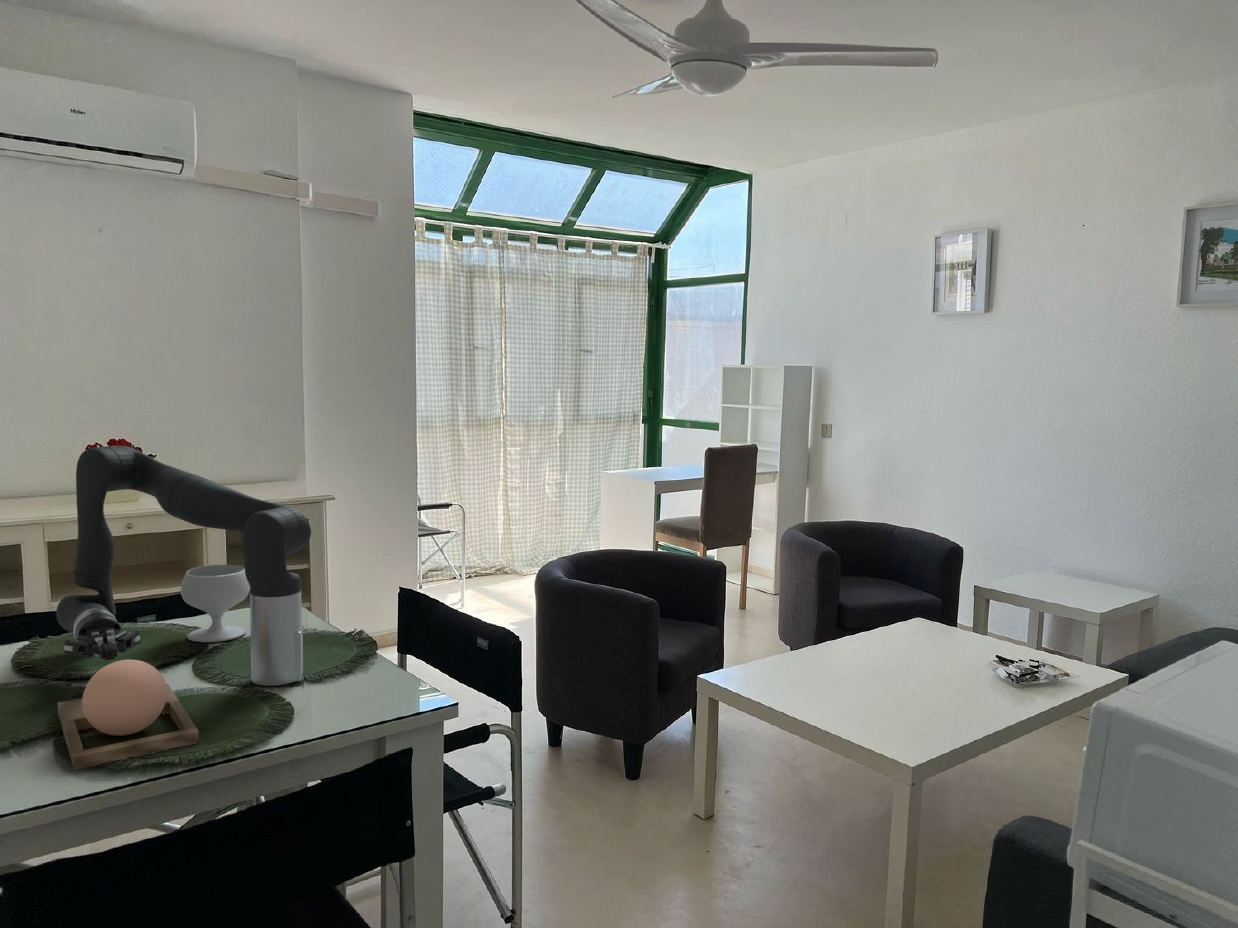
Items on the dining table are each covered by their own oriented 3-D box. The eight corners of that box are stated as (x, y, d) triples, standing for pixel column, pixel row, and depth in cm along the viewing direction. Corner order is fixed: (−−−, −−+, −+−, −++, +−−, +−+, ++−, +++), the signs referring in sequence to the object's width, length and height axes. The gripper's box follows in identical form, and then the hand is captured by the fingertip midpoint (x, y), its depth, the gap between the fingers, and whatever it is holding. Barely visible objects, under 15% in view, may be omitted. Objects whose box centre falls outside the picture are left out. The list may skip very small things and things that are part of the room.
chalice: (212, 624, 203) (211, 561, 202) (264, 630, 199) (263, 566, 198) (167, 641, 190) (165, 574, 188) (221, 648, 186) (219, 579, 185)
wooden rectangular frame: (167, 693, 159) (167, 683, 159) (199, 743, 138) (198, 731, 138) (58, 713, 149) (57, 702, 149) (73, 770, 128) (73, 757, 128)
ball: (171, 648, 149) (185, 693, 140) (143, 705, 151) (155, 752, 142) (95, 640, 140) (104, 687, 132) (66, 700, 142) (73, 750, 134)
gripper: (56, 616, 165) (65, 640, 151) (134, 607, 173) (150, 628, 159) (57, 655, 166) (67, 681, 152) (135, 643, 174) (151, 668, 160)
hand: (109, 654), depth 156 cm, fingers closed
